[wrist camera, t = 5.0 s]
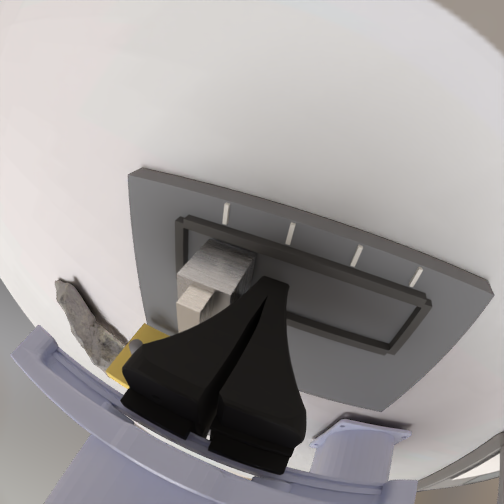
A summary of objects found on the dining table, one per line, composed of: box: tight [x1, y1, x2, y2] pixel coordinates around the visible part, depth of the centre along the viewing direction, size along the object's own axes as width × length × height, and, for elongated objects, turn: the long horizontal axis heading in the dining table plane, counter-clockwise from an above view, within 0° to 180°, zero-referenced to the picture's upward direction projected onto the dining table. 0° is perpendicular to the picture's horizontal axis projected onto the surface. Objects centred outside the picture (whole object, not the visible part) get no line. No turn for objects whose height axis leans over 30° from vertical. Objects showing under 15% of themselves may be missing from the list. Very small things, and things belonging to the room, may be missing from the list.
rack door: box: [106, 323, 169, 389], centre depth 16 cm, size 2×7×5 cm, turn 81°
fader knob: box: [176, 238, 256, 333], centre depth 12 cm, size 3×2×4 cm
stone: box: [55, 280, 123, 377], centre depth 25 cm, size 6×12×4 cm, turn 33°
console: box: [128, 168, 494, 435], centre depth 13 cm, size 13×20×7 cm, turn 81°
